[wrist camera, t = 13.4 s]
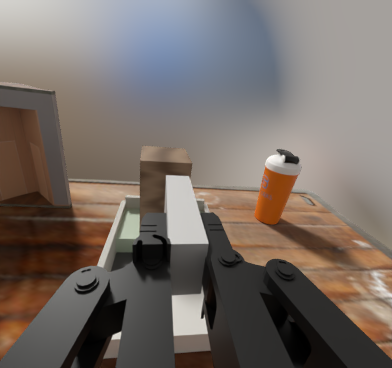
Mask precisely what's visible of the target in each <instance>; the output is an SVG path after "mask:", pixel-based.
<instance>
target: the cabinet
mask: <svg viewBox="0 0 392 368" xmlns="http://www.w3.org/2000/svg"><path fill="white" fill-rule="evenodd" d="M63 150H64V149H63V143H62V136H61V129H60V122H59V116H58V109H57V102H56V95H55V91H51V90H43V89H38V88H35V87H31V86H27V85H23V84H20V83H7V82H0V206H19V207H47V208H70V207H71V205H72V203H71V196H70V190H69V183H68V176H67V170H66V163H65V156H64V151H63Z"/></svg>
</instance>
